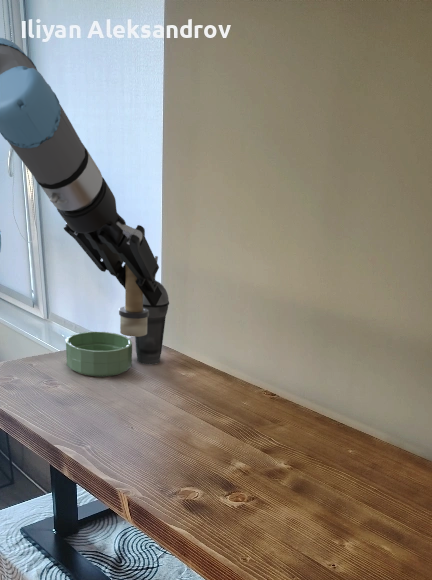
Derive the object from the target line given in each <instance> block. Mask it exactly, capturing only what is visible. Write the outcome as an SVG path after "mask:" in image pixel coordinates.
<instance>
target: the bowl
mask: <svg viewBox="0 0 432 580" xmlns="http://www.w3.org/2000/svg"><path fill="white" fill-rule="evenodd" d="M65 351H66V352H65V355H66V366H67V368H69V369H70V370H71V371H74V372H75V373H78V374H81V375H85V376H89V377H112V376H113V377H114V376H118V375H120V374H123V373H125V372H126V371H128V370H130V369H131V368H132V367H133V342H132V339H131V338H129V337H128V336H126V335H123V334H119V333H115V332H108V331H107V332H106V331H84V332H78V333H73V334H71V335H69V336H68V337H66V338H65Z"/></svg>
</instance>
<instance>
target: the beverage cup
mask: <svg viewBox="0 0 432 580" xmlns="http://www.w3.org/2000/svg"><path fill="white" fill-rule="evenodd" d="M154 257H155V259H156V262H157V263H158V259H159V256H158V255H154ZM156 277H157V274H156V275H155V277H154V278H155V279H156ZM156 282H157V283H158V285H157V286H158V287H159V289H160V291H161V292H162V295H161V297H160V299H159V301H158V303H157V305H156V307H153V306H151V305H150V303H149V302H148V300H147V299H146V297H145V296H144V294H143V308H146V309H148V310H149V316H148V317H147V334H146V335H144V336H140V337H134V341H135V353H136V361H137V362H138V363H139V364H142V365H157V364H159V363H160V362H161V357H162V356H161V355H162V350H163V342H164V335H165V326H166V317H167V313H168V309H169V305H170V300H169V294H168V291H167V290H166V288H165V287H164V285H163V284H162V283H161V282H159V281H157V280H156Z"/></svg>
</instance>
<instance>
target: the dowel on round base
mask: <svg viewBox="0 0 432 580" xmlns="http://www.w3.org/2000/svg"><path fill="white" fill-rule="evenodd" d="M136 280H137V277H136V276H135V275H134V274H133V273H132V271H131V270H130V269H129V268H128V266H127V265H126V277H125V288H124V290H125V291H124V292H125V294H124V299H125V300H124V301H125V303H124V305H125V306H121V307H119V308H118V315H119V332H120V335H123V336H126V337H131V338H132V337H134V338H135V337H140V336H144V335H146V334H147V317H148V316H149V310H148V309H146V308H143V293H142V291H141V290H140V288H139V286H138V285H137V284H136V282H135V281H136Z"/></svg>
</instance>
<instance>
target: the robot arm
mask: <svg viewBox="0 0 432 580" xmlns="http://www.w3.org/2000/svg"><path fill="white" fill-rule="evenodd" d="M0 135H1V136H2V137H3V139H4V140H5V141H6V142H7V143H8V144H9V145H10V147H11V148H12V149H13V151H14V152H15V154H16V155H17V156H18V157H19V159H20V160H21V161H22V163H23V164H24V166H25V167H26V169H27V170H28V171H29V172H30V173H31V175H32V176H33V178H34V180H35V181H36V182H37V184H38V185H39V186H40V188H41V189H42V191H43V192H44V193H45V195H46V196H47V198H48V199H49V201H50V203H52V205H53V207H55V208H56V211H57V212H58V213H59V215H60V216H61V218H62V219H63V221H64V222H65V224H64V226H63V231H65V232H66V233H67V234H68V235H69V236H71V237H72V239H74V240H75V242H76V243H77V244H78V245H79V247H81V249H82V250H83V251H84V253H85V254H86V255H87V257H89V259H90V260H91V261H92V262H93V263H94V265H95V266H96V267H97V268H98V269H99V270H100V271H101V272H103V273H105V272H106V271H108V272H109V274H110V275H111V276H113V277H115V278H116V280H117V281H118V283H119V284H120V285H121V286H122V287H123V288H124V289H125V277H126V265H127V266H128V268H129V269H130V270H131V271H132V273H133V274H134V275H135V276H136V277H137V280H136V281H135V282H136V284H137V285H138V286H139V288H140V290H141V291H142V293H143V294H144V296H145V297H146V299H147V300H148V302H149V303H150V305H151V306H153V307H156V305H157V303H158V301H159V299H160V297H161V295H162V292H161V291H160V289H159V287H158V286H157V285H158V283H157V282H156V281H157V280H156V276H157V273H158V271H159V269H160V266H159V263H158V261H157V262H156V259H155V255H154V253H153V251H152V249H151V247H150V245H149V244H150V243H148V240H147V238H146V230H145V229H146V228H145V227H143V226H142V225H140V224H137V225H136V227H135V228H134V227H132V226H130V225H128V224H127V222H126V221H125V219H124V218H123V217H122V216H121V215H120V214H119V213H118V211H117V202H116V197H115V195H114V193H113V191H112V189H111V188H110V186H109V185H108V182H107V181H106V179H105V178H104V177H103V175H102V172H101V170H100V168H99V167H98V165H97V164H96V162H95V160H94V159H93V157H92V155H91V154H90V152H89V151H88V149H87V148H86V146H85V144H84V143H83V142H82V140H81V138H80V137H79V135H78V133H77V131H76V130H75V128H74V126H73V124H72V122H71V120H70V119H69V117H68V115H67V114H66V112H65V110H64V108H63V107H62V105H61V103H60V100H59V98H58V95H57V94H56V93H55V92H54V91H53V89H52V87H51V86H50V84H49V83H48V82H47V81H46V79H45V78H44V76H43V75H42V73H41V72H40V71H38V69H37V66H36V65H35V63H34V61H33V60H32V59H31V58H30V57H29V56H28V55H27V54H26V53H25V52H24V51H23V49H22V48H21V47H20V46H19V45H17V44H16V43H15V42H13V41H11V40H9V39H7V38H4V37H0ZM1 251H2V231H1V230H0V252H1ZM155 275H156V276H155ZM154 277H155V278H154Z"/></svg>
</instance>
